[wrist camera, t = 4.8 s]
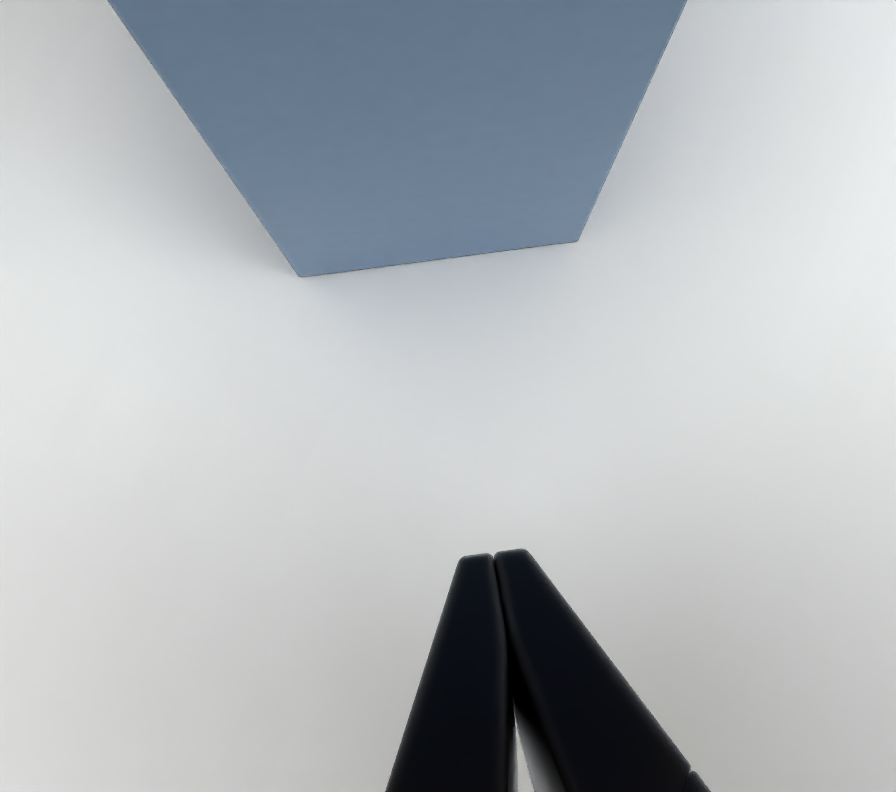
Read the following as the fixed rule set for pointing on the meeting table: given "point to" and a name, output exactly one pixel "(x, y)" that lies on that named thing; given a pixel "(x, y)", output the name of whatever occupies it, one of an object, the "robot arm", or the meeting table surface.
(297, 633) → the meeting table surface
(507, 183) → the storage box
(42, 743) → the meeting table surface
